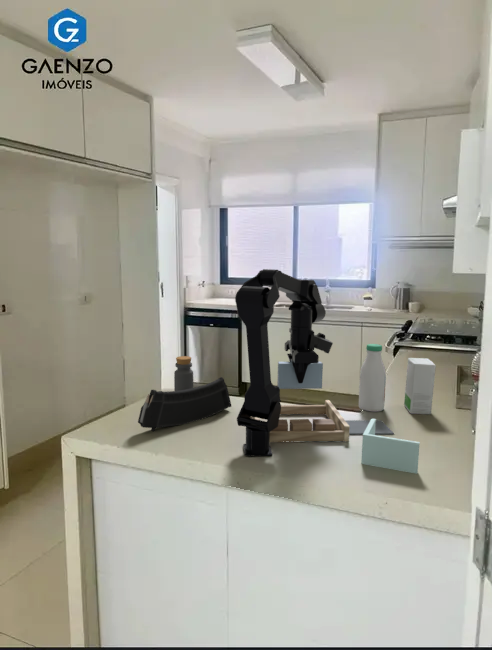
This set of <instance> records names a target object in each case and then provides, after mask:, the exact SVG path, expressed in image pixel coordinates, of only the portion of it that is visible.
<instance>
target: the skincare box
mask: <svg viewBox="0 0 492 650" xmlns="http://www.w3.org/2000/svg"><path fill="white" fill-rule="evenodd" d="M436 368H437V366H436V364H435V363H434V362H433V360H431V359H429V358H428V357H427V358H425V357H420V358H419V357H408V358H407V368H406V376H405V377H406V379H405V391H404V403H403V405H404V407H405V408H406V409H407V411H408V412H409V414H414V415H415V414H416V415H432V407H433V397H434V388H435V378H436V377H435V376H436Z"/></svg>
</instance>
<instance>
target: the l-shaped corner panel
mask: <svg viewBox="0 0 492 650" xmlns="http://www.w3.org/2000/svg"><path fill="white" fill-rule="evenodd" d="M369 420H370V422H369V424H368V426H367V428H366V430H365V431H364V433H363V435H362V440H361V441H362V442H361V443H362V444H361V463H360V464H362V465H367V466H373V467H377V468H384V469H389V470H395V471H400V472H404V473H405V472H406V473H412V474H416V475H418V472H419V471H418V470H419V460H420V459H419V455H420V444H421V442H420V441H415V440H409V439H408V440H407V439H404V438H402V439H401V438H396V437H388V436H383V435H375V425H376V420H377V419H376V418H371V419H369Z"/></svg>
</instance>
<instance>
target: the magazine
mask: <svg viewBox="0 0 492 650" xmlns="http://www.w3.org/2000/svg"><path fill="white" fill-rule="evenodd" d="M230 398H231V397H230V395H229V389H228V386H227V384H226V382H225V379H224V378H223V377H219V378H218V379H215V380H214V381H213V380H212V381H211V382H209V383H206V384H203V385H199V386H196V387H193V388H191V389H187V390H180V391H172V390H171V391H170V390H169V391H168V390H167V391H162V390H159V391H157V390H156V389H151V390H150V393H148V394H147V396H146V399H145V401H144V403H143V405H142V406H141V408H140V412H139V416H138V420H137V423H138V425H140V427H141V428H144V429H145V428H147V429H148V428H149V429H151V430H150V431H152V432H155V431H156V429H161V428H167V427H169V428H170V427H174V426H182V425H186V424H189V423H193V422H197V421H200V420H203V419H206V418H209V417H211V416H213V415H215V414H218V413H219V412H221V411H224V410H226V409H229V408H232V402H231V399H230ZM208 416H209V417H208ZM205 417H206V418H205ZM202 418H203V419H202ZM199 419H200V420H199ZM196 420H197V421H196Z"/></svg>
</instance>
